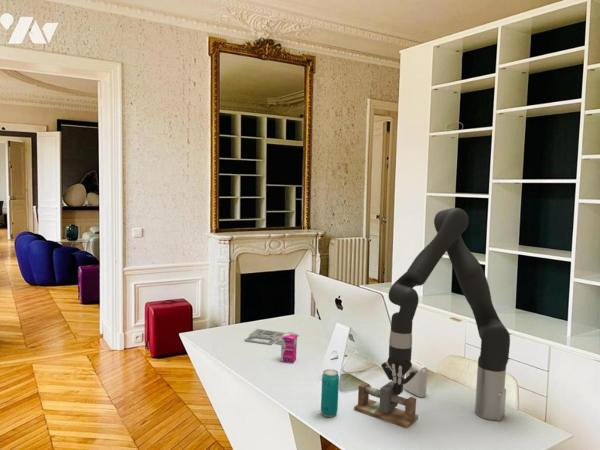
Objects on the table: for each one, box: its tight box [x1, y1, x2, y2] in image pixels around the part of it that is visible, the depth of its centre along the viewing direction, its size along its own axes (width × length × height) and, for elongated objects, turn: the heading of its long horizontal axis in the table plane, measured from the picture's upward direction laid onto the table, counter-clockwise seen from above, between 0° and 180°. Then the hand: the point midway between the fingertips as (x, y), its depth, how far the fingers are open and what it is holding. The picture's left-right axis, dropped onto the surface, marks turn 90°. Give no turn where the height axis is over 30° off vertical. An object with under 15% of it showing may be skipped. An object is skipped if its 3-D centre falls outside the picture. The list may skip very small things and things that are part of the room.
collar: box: [379, 380, 399, 413], centre depth 171 cm, size 3×8×8 cm, turn 143°
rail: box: [353, 382, 419, 429], centre depth 172 cm, size 20×9×8 cm, turn 53°
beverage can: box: [320, 368, 340, 418], centre depth 170 cm, size 6×6×15 cm
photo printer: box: [403, 358, 428, 398], centre depth 191 cm, size 10×4×12 cm, turn 29°
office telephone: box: [244, 328, 300, 346], centre depth 251 cm, size 23×3×20 cm
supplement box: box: [280, 334, 298, 364], centre depth 220 cm, size 6×6×12 cm
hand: (397, 393), depth 169 cm, fingers closed
